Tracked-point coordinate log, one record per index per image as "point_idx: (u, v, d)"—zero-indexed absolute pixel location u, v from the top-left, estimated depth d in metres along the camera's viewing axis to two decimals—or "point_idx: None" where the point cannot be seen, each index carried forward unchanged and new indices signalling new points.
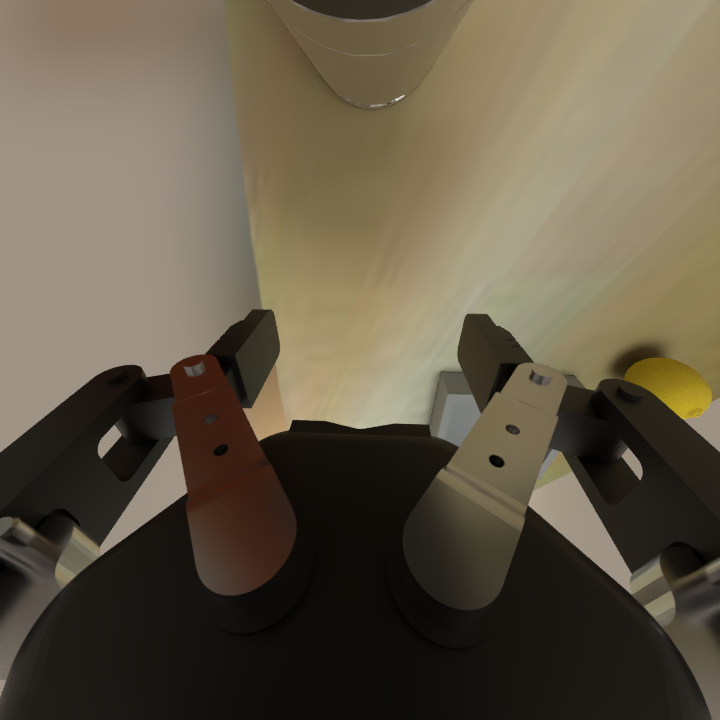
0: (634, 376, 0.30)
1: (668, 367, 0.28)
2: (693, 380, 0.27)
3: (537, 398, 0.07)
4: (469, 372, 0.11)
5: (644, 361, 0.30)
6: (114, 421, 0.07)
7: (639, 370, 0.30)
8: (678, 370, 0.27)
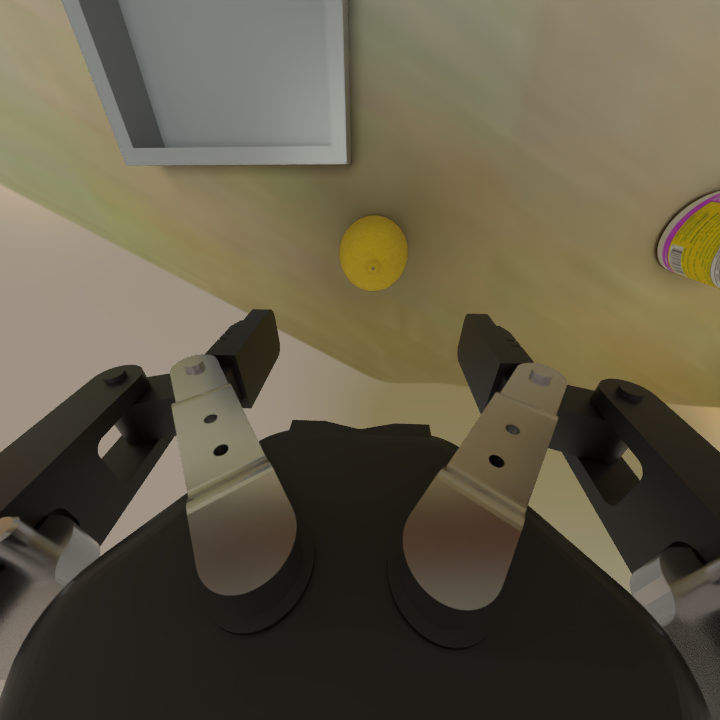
0: None
1: (405, 239, 0.22)
2: (405, 257, 0.21)
3: (537, 398, 0.07)
4: (469, 372, 0.11)
5: None
6: (114, 421, 0.07)
7: None
8: (407, 247, 0.22)
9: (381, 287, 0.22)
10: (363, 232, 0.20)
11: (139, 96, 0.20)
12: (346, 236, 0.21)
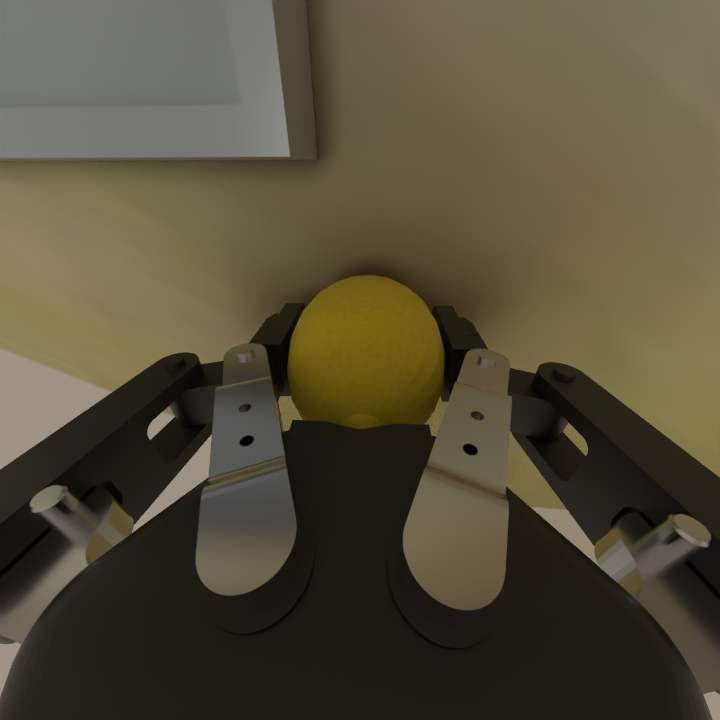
0: (384, 278, 0.10)
1: (439, 331, 0.10)
2: (442, 384, 0.09)
3: (488, 382, 0.07)
4: None
5: None
6: (166, 405, 0.07)
7: None
8: (443, 350, 0.09)
9: None
10: (338, 341, 0.07)
11: None
12: (298, 336, 0.08)
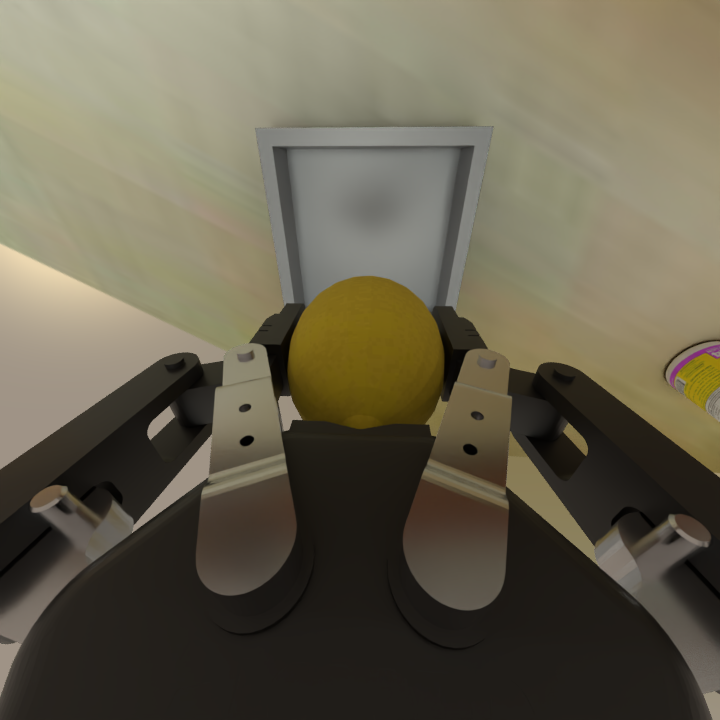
0: (384, 279, 0.10)
1: None
2: (442, 384, 0.09)
3: (488, 381, 0.07)
4: None
5: None
6: (166, 406, 0.07)
7: (402, 285, 0.10)
8: (443, 351, 0.10)
9: None
10: (338, 343, 0.07)
11: (299, 285, 0.28)
12: (298, 337, 0.09)
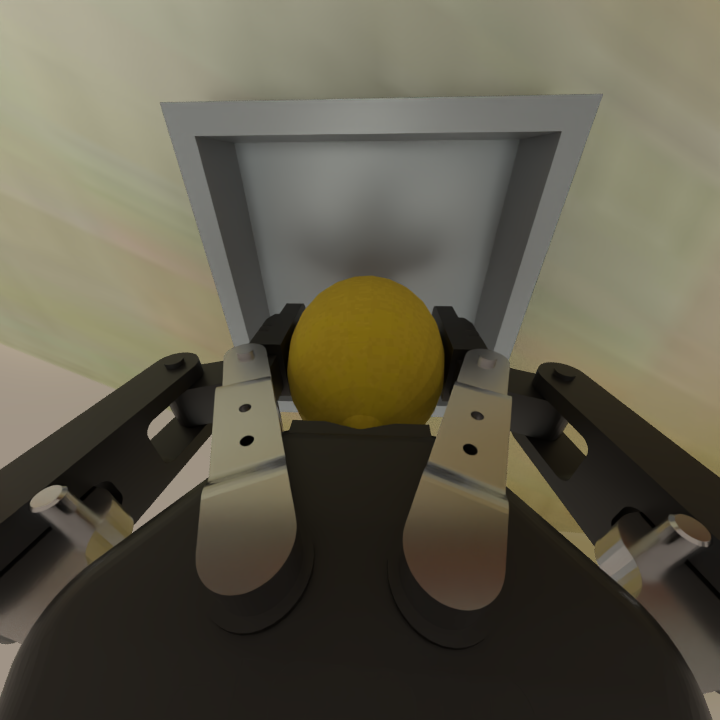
0: (384, 279, 0.10)
1: None
2: (442, 385, 0.09)
3: (489, 382, 0.07)
4: None
5: None
6: (166, 406, 0.07)
7: (402, 285, 0.10)
8: (443, 351, 0.10)
9: None
10: (338, 343, 0.07)
11: None
12: (298, 337, 0.08)
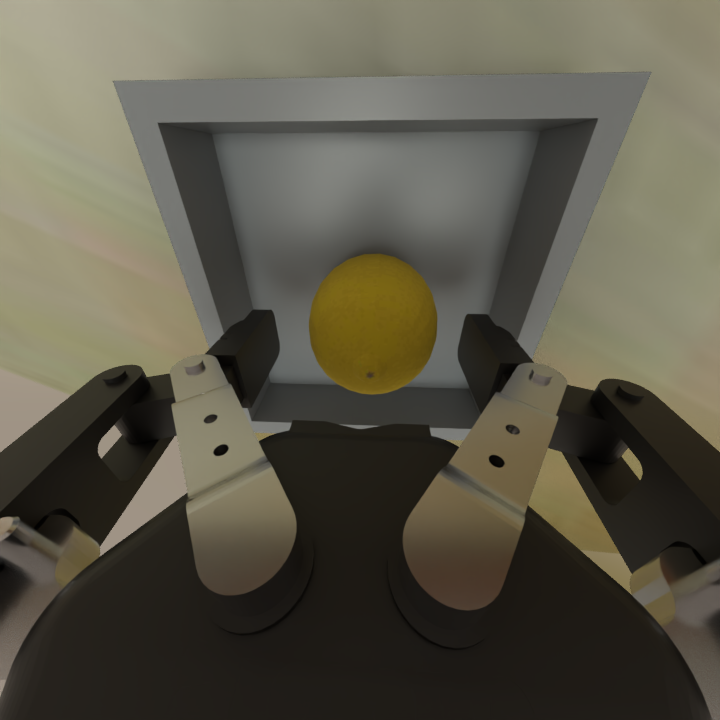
0: (389, 256, 0.12)
1: None
2: (434, 340, 0.11)
3: (537, 398, 0.07)
4: (469, 372, 0.11)
5: None
6: (114, 421, 0.07)
7: None
8: (436, 315, 0.12)
9: (386, 392, 0.11)
10: (352, 298, 0.09)
11: None
12: (319, 298, 0.11)
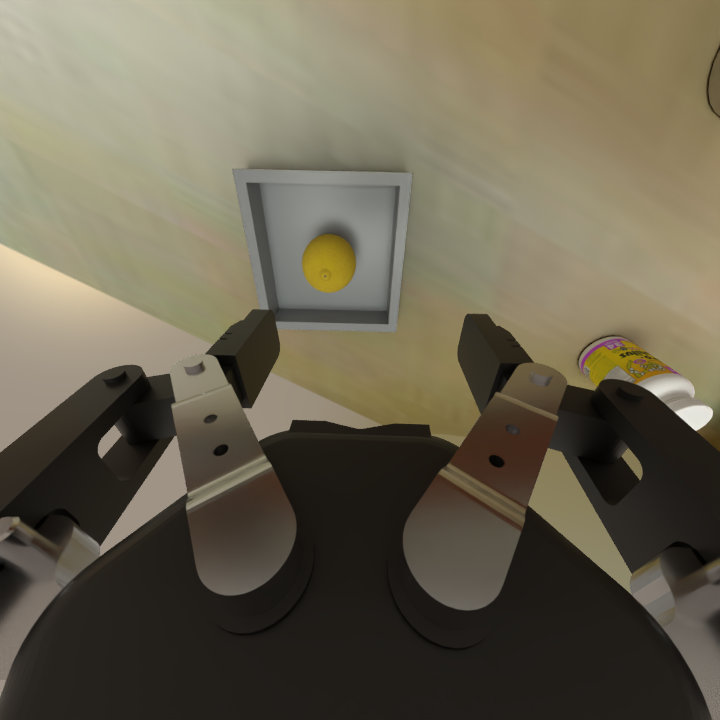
0: (335, 235, 0.28)
1: (353, 253, 0.28)
2: (352, 268, 0.28)
3: (538, 398, 0.07)
4: (469, 372, 0.11)
5: None
6: (114, 421, 0.07)
7: None
8: (354, 259, 0.28)
9: (334, 290, 0.28)
10: (318, 248, 0.26)
11: (272, 288, 0.34)
12: (306, 250, 0.27)
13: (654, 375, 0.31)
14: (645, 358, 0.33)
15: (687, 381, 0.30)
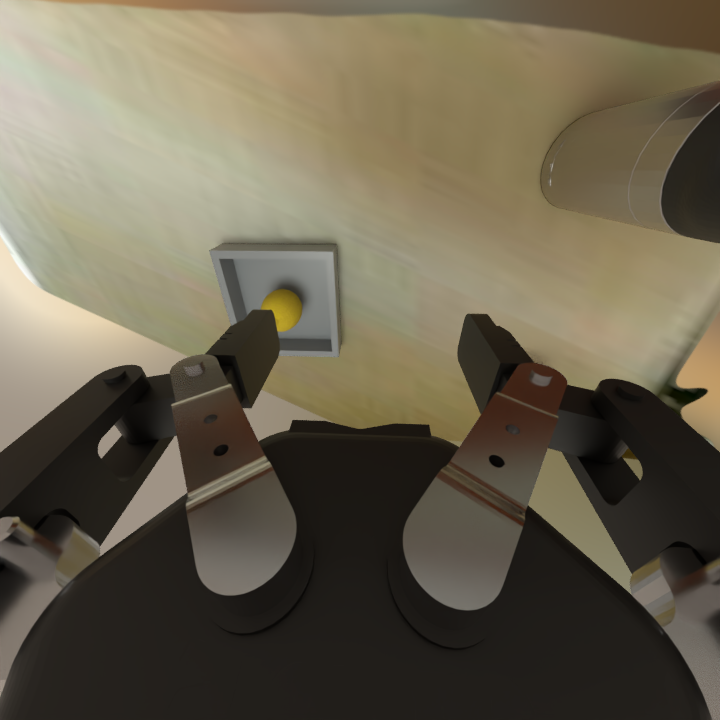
0: (285, 290, 0.39)
1: (298, 303, 0.39)
2: (295, 315, 0.38)
3: (537, 398, 0.07)
4: (469, 372, 0.11)
5: (296, 295, 0.41)
6: (114, 421, 0.07)
7: (290, 291, 0.39)
8: (298, 308, 0.39)
9: (283, 330, 0.39)
10: (269, 303, 0.37)
11: None
12: (262, 303, 0.38)
13: None
14: None
15: None
